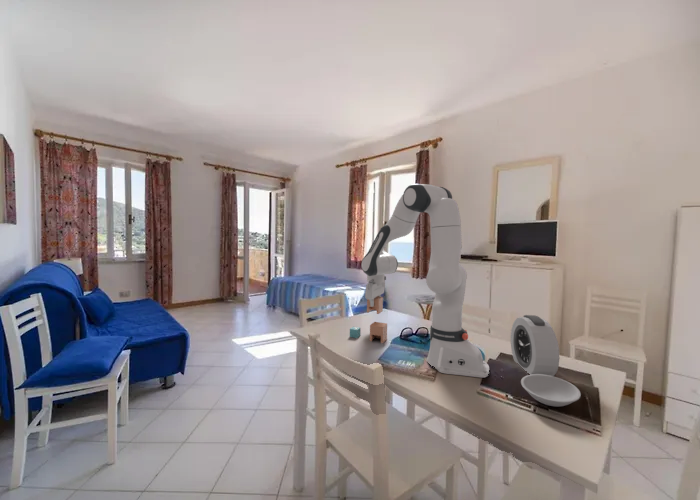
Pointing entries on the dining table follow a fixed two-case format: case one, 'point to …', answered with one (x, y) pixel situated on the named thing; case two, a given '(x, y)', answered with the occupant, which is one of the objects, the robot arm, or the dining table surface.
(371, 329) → the brown box with opening
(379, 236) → the robot arm
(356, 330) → the letter cube
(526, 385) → the dish
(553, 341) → the alarm clock
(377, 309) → the tan box with door
